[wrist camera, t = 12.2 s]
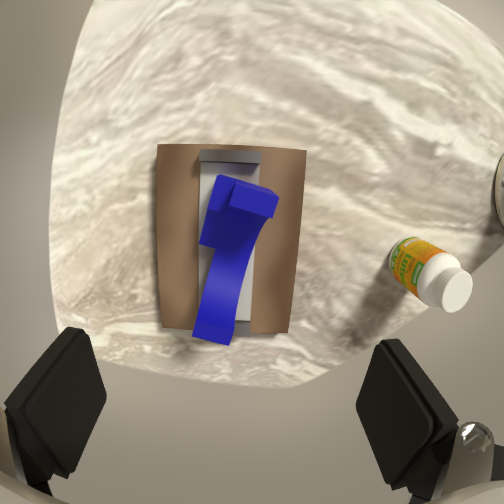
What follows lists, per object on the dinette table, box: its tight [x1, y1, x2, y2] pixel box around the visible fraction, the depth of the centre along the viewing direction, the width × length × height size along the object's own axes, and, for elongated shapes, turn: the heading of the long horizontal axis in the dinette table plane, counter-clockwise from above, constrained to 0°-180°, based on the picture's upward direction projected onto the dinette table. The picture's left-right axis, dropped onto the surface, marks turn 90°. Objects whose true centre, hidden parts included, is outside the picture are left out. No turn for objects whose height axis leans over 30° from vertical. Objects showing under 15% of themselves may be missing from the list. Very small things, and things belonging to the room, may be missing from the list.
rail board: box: [156, 144, 307, 337], centre depth 27 cm, size 13×18×4 cm
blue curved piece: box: [192, 174, 279, 346], centre depth 23 cm, size 12×4×6 cm, turn 162°
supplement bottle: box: [389, 236, 473, 313], centre depth 25 cm, size 5×5×10 cm
